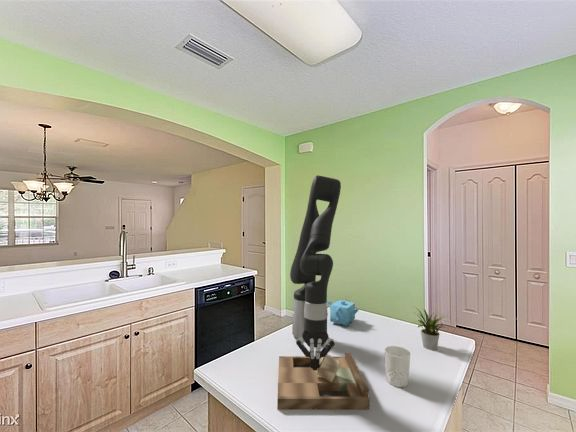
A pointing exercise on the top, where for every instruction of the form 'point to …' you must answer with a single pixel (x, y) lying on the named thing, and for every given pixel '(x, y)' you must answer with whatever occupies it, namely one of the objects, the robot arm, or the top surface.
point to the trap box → (320, 385)
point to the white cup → (397, 365)
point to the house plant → (429, 331)
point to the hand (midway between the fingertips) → (314, 369)
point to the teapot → (342, 312)
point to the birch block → (328, 367)
